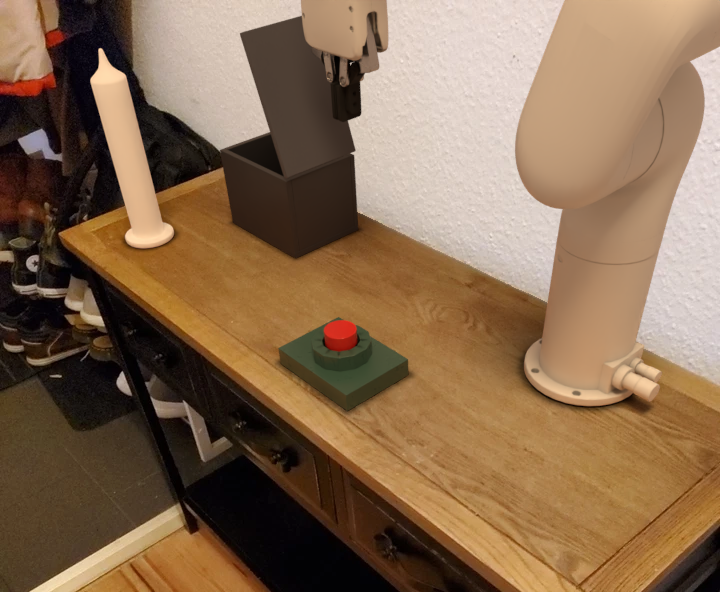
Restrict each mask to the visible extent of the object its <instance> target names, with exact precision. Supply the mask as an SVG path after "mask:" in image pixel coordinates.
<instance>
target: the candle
mask: <svg viewBox="0 0 720 592" xmlns="http://www.w3.org/2000/svg"><path fill="white" fill-rule="evenodd" d="M89 83H90V85H91V89H92V93H93V97H94V100H95V104H96V107H97V110H98V113H99V114H98V115H99V116H100V121H101V125H102V129H103V131H104V135H105V139H106V142H107V146H108V149H109V153H110V156H111V160H112V164H113V167H114V171H115V175H116V178H117V181H118V185H119V187H120V188H119V189H120V192H121V195H122V199H123V202H124V206H125V209H126V213H127V217H128V220H129V224H130V228H129V229H128V230H127V231H126V232H125V234H124V239H125V242H126V244H127V245H129V246H130V247H132V248H136V249H153V248H157V247H160V246H163V245H165V244H167V243H169V242H170V241H171V240H173V237H174V236H175V230H174V227H173V226H172V225H171V224H170V223H167V222H164V221H163V219H162V214H161V210H160V206H159V202H158V198H157V194H156V190H155V186H154V183H153V178H152V175H151V171H150V166H149V161H148V158H147V155H146V150H145V147H144V142H143V139H142V135H141V130H140V126H139V121H138V118H137V114H136V110H135V107H134V102H133V99H132V94H131V91H130V87H129V82H128V79H127V75H126V74H125V72H122V71H121V70H118V69H117V68H116V67H114V66H113V65H112V64H111V63H110V61H109V59H108V57H107V56H106V54H105V51H104V49H103V48H101V47H100V48H98V68H97V69H96V70H95V72H94V74H93V75H92V76H91V77H90V82H89Z"/></svg>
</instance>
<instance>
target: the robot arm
mask: <svg viewBox="0 0 720 592" xmlns="http://www.w3.org/2000/svg"><path fill="white" fill-rule="evenodd" d="M300 8H301V9H300V10H301V16H302V23H303V30H304V36H305V40H306V42H307V43H308V44H309V45H310V46H311V52H312V54H313V55H315V56H316V57H317V58H319V59H320V60H322V62H323V64H324V66H325V70H326V77H327V80H328V81H329V82H332V83H331V98H332V113H333V118H334V119H336V120H339V121H341V122H345V121H348V122H349V121H351V120H355V118H359V117H360V116H361V115H362V92H361V91H362V90H361V88H362V87H361V82H363V81H364V79H365V74H370V73H373V72H376V71H379V69H380V60H379V55H378V54H379V53H384V52H386V51H387V50H388V48H389V17H388V1H387V0H300ZM719 48H720V0H564V1H563V3H562V6H561V8H560V10H559V13H558V15H557V18H556V21H555V24H554V26H553V29H552V31H551V34H550V36H549V39H548V41H547V43H546V46H545V49H544V51H543V55H542V57H541V59H540V61H539V64H538V67H537V70H536V72H535V74H534V77H533V81H532V83H531V84H530V85H531V86H530V88H529V91H528V93H527V96H526V99H525V101H524V104H523V107H522V110H521V112H520V116H519V120H518V124H517V128H516V133H515V143H514V158H515V164H516V168H517V173H518V175H519V178H520V181H521V183H522V184H523V186H524V188H525V190H526V191H527V192H528V194H529V195H530V196H531V197H532V198H533V199H535V200H536V201H537V202H539V204H543V205H544V206H546V207H549V208H553V209H557V210H561V214H560V219H559V226H558V229H557V230H558V231H557V237H556V243H555V250H554V256H553V263H552V270H551V276H550V283H549V289H548V290H549V291H548V297H547V303H546V304H547V305H546V310H545V317H544V323H543V329H542V330H543V331H542V335H541V336H542V337H541V338H538V339H537V340H536V341H535V342H533V343H532V344H531V345H530V346H529V347H528V348H527V350H526V353H525V355H524V360H523V361H524V362H523V371H524V374H525V377H526V378H527V380H528V382H529V383H530V384H531V385H532V386H533V387H534V388H535V389H536V390H537V391H539V392H540V393H541V394H543V395H545V396H547V397H549V398H551V399H553V400H555V401H558V402H561V403H564V404H569V405H574V406H583V407H600V406H601V407H602V406H606V405H612V404H616V403H618V402H622V401H623V400H625V399H627V398H629V397H631V395H633V394H634V395H636V396H637V397H639V398H641V399H643V400H644V401H647V402H649V403H650V402H652V401H653V400H655V398H656V397H657V395H658V394H659V391H660V389H661V385H660V384H659V383H658V382H659V381H660V379H661V378H662V376H663V371H661V370H659V369H658V368H656V367H653V366H651V365H648V364H646V363H645V362H644V360H643V359H642V357H643V353H644V348H645V344H642V343H640V342H638V341H637V338H638V334H639V330H640V326H641V323H642V318H643V315H644V311H645V307H646V303H647V299H648V295H649V292H650V288H651V284H652V278H653V276H654V272H655V268H656V264H657V260H658V257H659V252H660V249H661V246H662V242H663V239H664V234H665V232H666V231H665V230H666V227H667V223H668V219H669V215H670V213H671V209H672V207H673V204H674V200H675V197H676V194H677V191H678V189H679V186H680V183H681V180H682V178H683V176H684V174H685V171H686V169H687V166H688V164H689V162H690V159H691V158H692V155H693V153H694V150H695V147H696V144H697V142H698V138H699V136H700V132H701V129H702V125H703V120H704V115H705V107H706V106H705V105H706V104H705V102H706V100H705V99H706V97H705V89H704V85H703V81H702V78H701V76H700V74H699V72H698V70H697V69H696V67H695V65H694V64H693V62H692V61H694V60H696V59H699V58H700V57H702V56H704V55H706V54H708V53H710V52H712V51H715V50H716V49H719Z"/></svg>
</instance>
